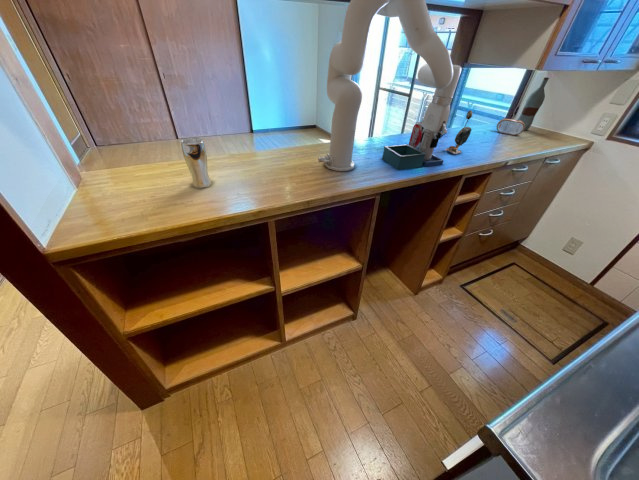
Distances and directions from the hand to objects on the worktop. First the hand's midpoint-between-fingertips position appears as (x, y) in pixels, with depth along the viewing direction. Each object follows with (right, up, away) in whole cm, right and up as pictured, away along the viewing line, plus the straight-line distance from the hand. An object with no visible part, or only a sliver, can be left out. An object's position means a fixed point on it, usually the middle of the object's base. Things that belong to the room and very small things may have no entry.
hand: (427, 144), depth 119 cm
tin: (+70, +24, +48) cm, 89 cm away
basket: (-12, -8, 0) cm, 15 cm away
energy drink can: (0, -5, +4) cm, 7 cm away
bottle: (+88, +33, +60) cm, 112 cm away
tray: (0, -5, +4) cm, 7 cm away
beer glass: (-91, -23, -26) cm, 97 cm away
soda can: (0, +4, +17) cm, 17 cm away
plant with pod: (+20, +2, +16) cm, 26 cm away
